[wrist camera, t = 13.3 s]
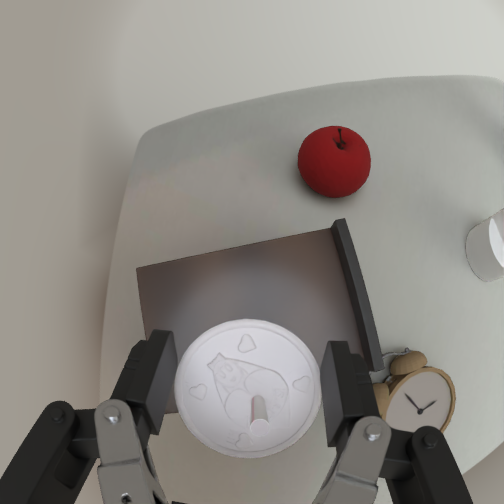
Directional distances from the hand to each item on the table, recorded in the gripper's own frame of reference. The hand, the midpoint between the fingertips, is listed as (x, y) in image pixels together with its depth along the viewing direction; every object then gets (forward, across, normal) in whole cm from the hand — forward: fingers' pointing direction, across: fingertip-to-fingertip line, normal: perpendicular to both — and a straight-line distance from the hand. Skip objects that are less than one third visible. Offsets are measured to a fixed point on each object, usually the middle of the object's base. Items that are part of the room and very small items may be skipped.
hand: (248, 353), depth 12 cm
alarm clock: (+12, -19, +22) cm, 32 cm away
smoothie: (+6, 0, +9) cm, 11 cm away
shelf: (+19, 0, +16) cm, 24 cm away
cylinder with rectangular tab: (+27, -35, +8) cm, 45 cm away
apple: (+33, -9, +1) cm, 34 cm away
